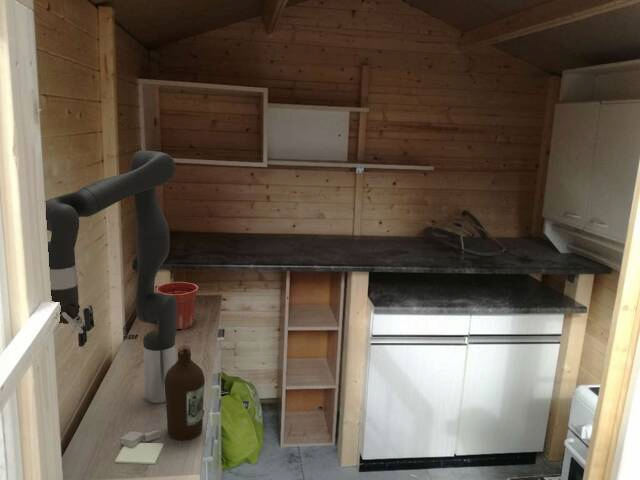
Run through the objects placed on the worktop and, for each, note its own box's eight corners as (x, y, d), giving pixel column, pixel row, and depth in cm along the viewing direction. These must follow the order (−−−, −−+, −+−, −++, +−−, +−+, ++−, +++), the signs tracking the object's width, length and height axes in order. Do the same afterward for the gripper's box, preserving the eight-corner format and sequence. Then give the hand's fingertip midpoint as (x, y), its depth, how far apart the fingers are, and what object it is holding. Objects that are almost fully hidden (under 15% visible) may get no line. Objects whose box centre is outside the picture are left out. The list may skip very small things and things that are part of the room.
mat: (126, 443, 143) (125, 442, 142) (163, 445, 143) (163, 443, 143) (114, 462, 135) (114, 461, 135) (154, 464, 135) (154, 462, 135)
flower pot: (164, 316, 231) (164, 280, 227) (202, 318, 230) (202, 282, 226) (151, 331, 214) (150, 293, 211) (192, 333, 214) (191, 295, 210)
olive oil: (157, 434, 147) (155, 349, 142) (183, 416, 157) (183, 336, 151) (186, 446, 143) (185, 359, 137) (212, 427, 152) (212, 345, 146)
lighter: (120, 437, 141) (140, 425, 149) (120, 443, 141) (140, 431, 149) (142, 443, 139) (161, 430, 146) (142, 449, 139) (161, 436, 146)
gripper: (96, 280, 135) (99, 340, 139) (39, 277, 135) (43, 337, 138) (83, 289, 128) (87, 352, 131) (23, 286, 127) (28, 350, 131)
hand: (64, 344), depth 135 cm, fingers open, 8 cm apart
